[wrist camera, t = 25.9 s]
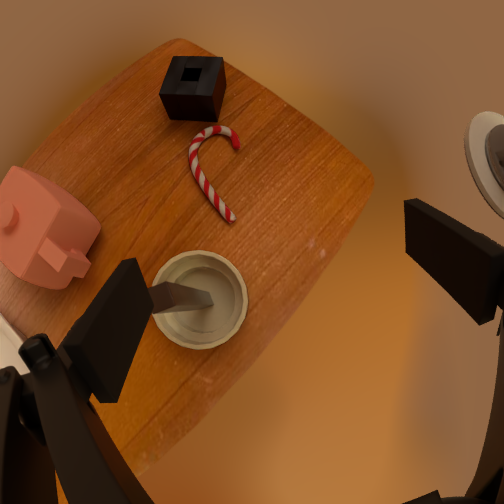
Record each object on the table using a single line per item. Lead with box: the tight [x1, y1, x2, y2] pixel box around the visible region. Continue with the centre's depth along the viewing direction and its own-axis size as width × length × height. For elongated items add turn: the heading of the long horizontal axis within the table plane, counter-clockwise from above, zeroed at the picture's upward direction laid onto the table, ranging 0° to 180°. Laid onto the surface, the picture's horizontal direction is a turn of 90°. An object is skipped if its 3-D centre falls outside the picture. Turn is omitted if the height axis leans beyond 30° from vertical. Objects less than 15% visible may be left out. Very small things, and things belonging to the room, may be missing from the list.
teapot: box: [0, 166, 101, 290], centre depth 36 cm, size 22×13×14 cm, turn 57°
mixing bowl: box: [152, 250, 249, 350], centre depth 38 cm, size 11×11×6 cm
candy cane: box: [189, 125, 240, 223], centre depth 43 cm, size 8×1×15 cm
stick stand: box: [159, 56, 226, 122], centre depth 43 cm, size 8×8×7 cm
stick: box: [148, 281, 214, 314], centre depth 31 cm, size 2×2×20 cm
